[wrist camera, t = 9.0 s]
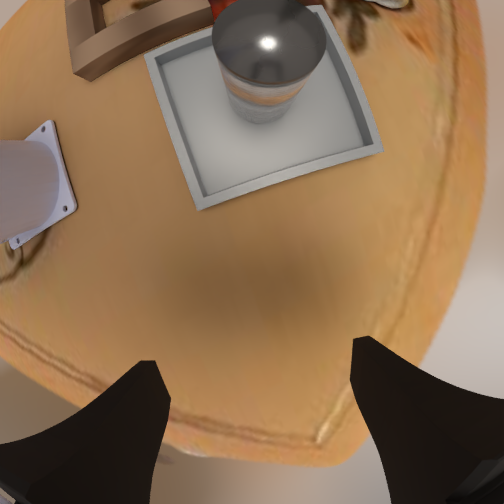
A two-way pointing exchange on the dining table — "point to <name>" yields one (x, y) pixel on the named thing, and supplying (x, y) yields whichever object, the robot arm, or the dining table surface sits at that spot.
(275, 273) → the dining table surface
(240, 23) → the steel pin
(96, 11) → the eye block
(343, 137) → the tray
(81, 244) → the dining table surface
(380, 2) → the pastry
